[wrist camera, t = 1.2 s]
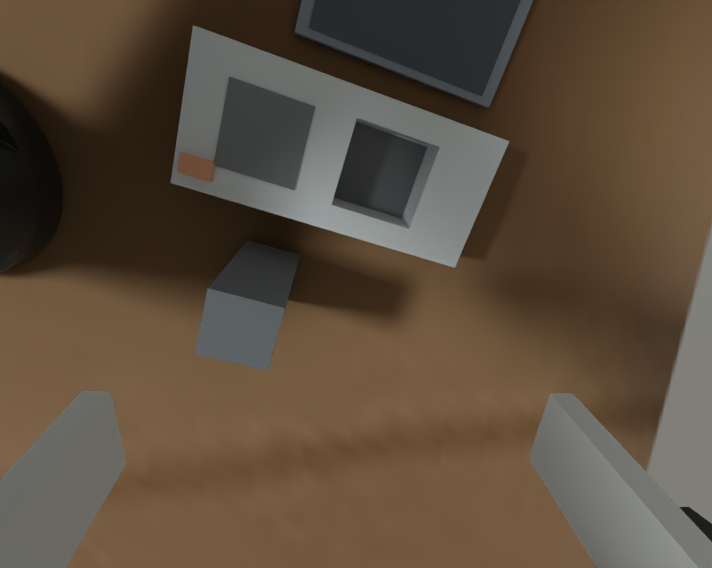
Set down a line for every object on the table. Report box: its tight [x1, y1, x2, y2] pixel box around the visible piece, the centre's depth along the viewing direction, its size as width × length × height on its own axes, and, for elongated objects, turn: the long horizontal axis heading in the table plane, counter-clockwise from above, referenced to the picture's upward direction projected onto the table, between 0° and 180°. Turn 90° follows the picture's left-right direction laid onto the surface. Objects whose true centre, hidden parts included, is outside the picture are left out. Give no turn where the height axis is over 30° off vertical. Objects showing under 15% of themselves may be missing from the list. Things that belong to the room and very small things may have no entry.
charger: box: [195, 240, 300, 371], centre depth 26 cm, size 4×4×10 cm
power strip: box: [171, 25, 509, 268], centre depth 26 cm, size 20×9×4 cm, turn 72°
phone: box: [295, 0, 533, 108], centre depth 24 cm, size 7×14×1 cm, turn 72°
